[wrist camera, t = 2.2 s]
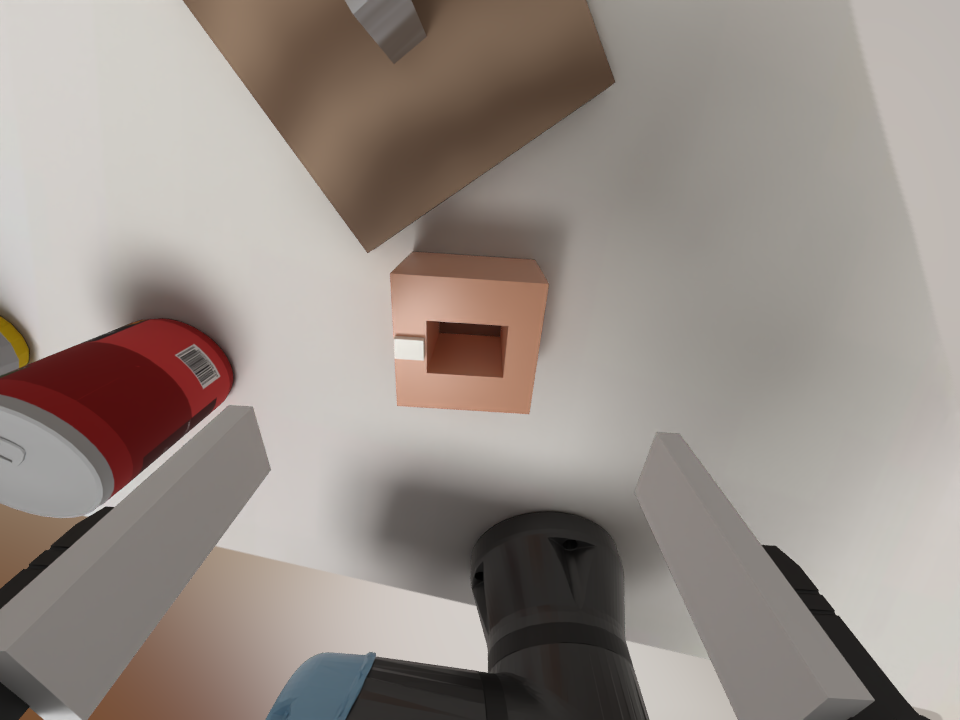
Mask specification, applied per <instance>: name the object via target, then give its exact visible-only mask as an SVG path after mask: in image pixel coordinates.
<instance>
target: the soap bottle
mask: <svg viewBox="0 0 960 720" xmlns="http://www.w3.org/2000/svg"><path fill="white" fill-rule="evenodd" d="M28 362H29V349H28V347H27V344H26V342H25V340H24V338H23V336H22V335H21V334H20V333H19V332H18V331H17V330H16V329H15V328H14V326H13V325H12V324H11V323H9V322H8V321H6V320H5V319H4V318H2V317H1V316H0V376H1V375H3V374H6V373H8V372H11V371H13V370H16V369H18V368H21V367H23V366H25V365H26V364H27V363H28Z"/></svg>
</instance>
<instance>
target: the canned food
mask: <svg viewBox="0 0 960 720" xmlns="http://www.w3.org/2000/svg"><path fill="white" fill-rule="evenodd" d="M232 384H233V372H232V368H231V365H230V363H229V361H228V359H227V357H226V355H225V354H224V352H223V351H222V350H221V348H220V347H219V346H218V345H217V344H216V343H215V342H214V341H213V340H212V339H211V338H209V337H208V336H207V335H206V334H204V333H203V332H201V331H199V330H198V329H196V328H194V327H192V326H190V325H188V324H185V323H183V322H179V321H176V320H171V319H163V318H162V319H148V320H140V321H137V322H133V323H131V324H128V325H126V326H123V327H121V328H118V329H116V330H113V331H111V332H108V333H106V334H103V335H101V336H98V337H96V338H93V339H91V340H88V341H86V342H83V343H81V344H78V345H76V346H73V347H71V348H68V349H66V350H63V351H61V352H58V353H56V354H53V355H51V356H48V357H46V358H43V359H41V360H38V361H36V362H33V363H31V364H28V365H26V366H23V367H21V368H18V369H16V370H13V371H11V372H8V373H6V374H3V375H1V376H0V503H1V504H4V505H7V506H9V507H11V508H14V509H17V510H21V511H24V512H27V513H31V514H36V515H41V516H46V517H56V518H71V517H78V516H82V515H85V514H88V513H90V512H92V511H93V510H95V509H96V508H97V507H98V506H100V505H102V504H104V503H105V502H106V501H107V500H108V499H110V498H111V497H112V496H113V495H114V494H116V493H117V492H118V491H119V490H121V489H122V488H123V487H124V486H126V485H127V484H128V483H129V482H130V481H131V480H133V479H134V478H135V477H136V476H137V475H138V474H140V473H141V472H142V471H143V470H144V469H146V468H147V467H148V466H149V465H150V464H151V463H153V462H154V461H155V460H156V459H157V458H158V457H160V456H161V455H162V454H163V453H164V452H165V451H167V450H168V449H169V448H170V447H171V446H172V445H174V444H175V443H176V442H177V441H178V440H179V439H181V438H182V437H183V436H184V435H185V434H186V433H188V432H189V431H190V430H191V429H192V428H193V427H195V426H196V425H197V424H198V423H199V422H200V421H202V420H203V419H204V418H205V417H206V416H208V415H209V414H210V413H211V412H212V411H213V410H215V409H216V408H217V407H218V406H219V405H220V404H221V403H222V402H224V401H225V399H226V397H227V395H228V394H229V392H230V390H231V388H232Z"/></svg>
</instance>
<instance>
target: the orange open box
mask: <svg viewBox="0 0 960 720" xmlns="http://www.w3.org/2000/svg"><path fill="white" fill-rule="evenodd" d="M390 282H391V301H392V319H393V338H394V358H395V375H396V394H397V406H408V407H424V408H440V409H456V410H472V411H488V412H504V413H520V414H529V412H530V405H531V399H532V392H533V385H534V379H535V372H536V366H537V359H538V353H539V346H540V339H541V333H542V326H543V320H544V313H545V307H546V300H547V293H548V287H549V283H548V282H547V280H546V278H545V276H544V275H543V273H542V271H541V269H540V268H539V266H538V264H537V263H536V261H535V260H531V259H516V258H502V257H487V256H472V255H457V254H442V253H427V252H412V253H411V254H410V255H409V256H408V257H406V258H405V259H404V260H403V261H402V262H401V263H400V264H399V265H398V266H397V267H396V268H395V269H394V270H393V271H392V272H391V273H390ZM439 322H454V323H469V324H485V325H500V326H501V331H500V337H499V336H483V335H468V334H452V333H439Z"/></svg>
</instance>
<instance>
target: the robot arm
mask: <svg viewBox="0 0 960 720" xmlns="http://www.w3.org/2000/svg"><path fill="white" fill-rule="evenodd" d="M270 470H271V468H270V465H269V461H268V458H267V454H266V451H265V447H264V444H263V440H262V437H261V433H260V430H259V427H258V423H257V420H256V416H255V413H254V409H253V407H249V406H233V405H229V406H228V407H226V408H225V409H224V410H223V411H222V412H221V413H220V414H219V415H217V416H216V417H215V418H214V419H213V420H212V421H211V422H210V423H209V424H207V425H206V426H205V427H204V428H203V429H202V430H201V431H200V432H198V433H197V434H196V435H195V436H194V437H193V438H192V439H191V440H189V441H188V442H187V443H186V444H185V445H184V446H183V447H182V448H181V449H179V450H178V451H177V452H176V453H175V454H174V455H173V456H172V457H170V458H169V459H168V460H167V461H166V462H165V463H164V464H163V465H161V466H160V467H159V468H158V469H157V470H156V471H155V472H154V473H153V474H151V475H150V476H149V477H148V478H147V479H146V480H145V481H144V482H142V483H141V484H140V485H139V486H138V487H137V488H136V489H135V490H133V491H132V492H131V493H130V494H129V495H128V496H127V497H126V498H125V499H123V500H122V501H121V502H120V503H119V504H118V505H117V506H116V507H104V508H103V509H101V510H99V511H98V512H96V513H94V514H93V515H91V516H89V517H87V518H86V519H84V520H82V521H81V522H79V523H77V524H76V525H75V526H73V527H72V528H71V529H70V530H69V531H68V532H66V533H65V534H64V535H63V536H62V537H61V538H59V539H58V540H57V541H56V542H55V543H54V544H52V545H51V548H50V549H49V550H46V551H44V552H43V553H42V554H41V555H39V556H38V557H37V558H36V559H35V560H33V561H32V562H31V563H30V564H29V567H28V568H27V569H23V570H22V571H21V572H19V573H18V574H17V575H16V576H15V577H14V578H12V579H11V580H10V581H9V582H8V583H6V584H5V585H4V586H3V587H2V588H1V589H0V720H19V719H20V717H21V716H22V715H23V714H24V713H25V712H26V710H27V709H28V708H31V709H32V710H33V711H34V712H36V713H37V714H38V715H39V716H41V717H42V718H43V719H44V720H87V719H88V718H89V717H90V715H91V714H92V713H93V711H94V710H95V708H96V707H97V706H98V704H99V703H100V702H101V700H102V699H103V697H104V696H105V695H106V693H107V692H108V691H109V689H110V688H111V687H112V685H113V684H114V683H115V681H116V680H117V678H118V677H119V676H120V674H121V673H122V672H123V670H124V669H125V668H126V666H127V665H128V664H129V662H130V661H131V660H132V658H133V657H134V655H135V654H136V653H137V651H138V650H139V649H140V647H141V646H142V645H143V643H144V642H145V640H146V639H147V638H148V636H149V635H150V634H151V632H152V631H153V630H154V628H155V627H156V626H157V624H158V623H159V621H160V620H161V619H162V617H163V616H164V615H165V613H166V612H167V610H168V609H169V608H170V606H171V605H172V604H173V602H174V601H175V600H176V598H177V597H178V596H179V594H180V593H181V591H182V590H183V589H184V587H185V586H186V585H187V583H188V582H189V581H190V579H191V578H192V576H193V575H194V574H195V572H196V571H197V570H198V568H199V567H200V566H201V564H202V563H203V561H204V560H205V559H206V557H207V556H208V555H209V553H210V552H211V551H212V549H213V548H214V547H215V545H216V544H217V543H218V541H219V540H220V538H221V537H222V536H223V534H224V533H225V532H226V530H227V529H228V528H229V526H230V525H231V523H232V522H233V521H234V519H235V518H236V517H237V515H238V514H239V513H240V511H241V510H242V509H243V507H244V506H245V504H246V503H247V502H248V500H249V499H250V498H251V496H252V495H253V494H254V492H255V491H256V489H257V488H258V487H259V485H260V484H261V483H262V481H263V480H264V479H265V477H266V476H267V474H268V473H269V472H270ZM634 493H635V495H636V497H637V499H638V502H639V504H640V506H641V508H642V510H643V513H644V515H645V517H646V519H647V521H648V524H649V526H650V528H651V530H652V532H653V535H654V537H655V539H656V541H657V543H658V546H659V548H660V550H661V552H662V554H663V557H664V559H665V561H666V563H667V565H668V568H669V570H670V572H671V574H672V576H673V579H674V581H675V583H676V585H677V587H678V589H679V592H680V594H681V596H682V598H683V600H684V603H685V605H686V607H687V609H688V611H689V614H690V616H691V618H692V620H693V622H694V625H695V627H696V629H697V631H698V633H699V636H700V638H701V640H702V642H703V644H704V647H705V649H706V651H707V653H708V655H709V658H710V660H711V662H712V664H713V666H714V668H715V671H716V673H717V675H718V677H719V679H720V682H721V684H722V686H723V688H724V690H725V693H726V695H727V697H728V699H729V701H730V704H731V706H732V708H733V710H734V712H735V715H736V717H737V719H738V720H930V719H928V718H926V717H924V716H921V715H919V714H918V713H917V712H916V711H915V710H914V709H913V708H912V707H911V706H910V704H909V703H908V702H907V701H906V700H905V699H904V698H903V696H902V695H901V694H900V693H899V691H898V690H897V689H896V687H895V686H894V685H893V684H892V682H891V681H890V680H889V679H888V677H887V676H886V675H885V674H884V672H883V671H882V670H881V669H880V667H879V666H878V665H877V663H876V662H875V661H874V660H873V658H872V657H871V656H870V655H869V653H868V652H867V651H866V650H865V648H864V647H863V646H862V644H861V643H860V642H859V641H858V639H857V638H856V637H855V636H854V634H853V633H852V632H851V631H850V629H849V628H848V627H847V626H846V624H845V623H844V622H843V620H842V619H841V618H840V617H839V616H837V615H835V612H834V611H835V610H834V609H833V608H832V607H831V605H830V604H829V603H828V601H827V600H826V599H825V598H824V596H823V595H820V594H819V592H818V591H819V590H818V589H817V588H816V586H815V585H814V584H813V583H812V581H811V580H810V579H809V577H808V576H807V575H806V574H805V572H804V571H803V570H802V569H801V567H800V566H799V565H797V564H796V563H795V562H794V561H793V560H792V559H790V558H789V557H788V556H787V555H786V554H785V553H783V552H782V551H781V550H780V549H779V548H778V547H776V546H768V545H761V544H760V543H759V541H758V540H757V539H756V537H755V536H754V534H753V533H752V532H751V530H750V529H749V528H748V526H747V525H746V523H745V522H744V521H743V519H742V518H741V517H740V515H739V514H738V513H737V511H736V510H735V508H734V507H733V506H732V504H731V503H730V502H729V500H728V499H727V498H726V496H725V495H724V493H723V492H722V491H721V489H720V488H719V487H718V485H717V484H716V483H715V481H714V480H713V478H712V477H711V476H710V474H709V473H708V472H707V470H706V469H705V468H704V466H703V465H702V463H701V462H700V461H699V459H698V458H697V457H696V455H695V454H694V453H693V451H692V450H691V448H690V447H689V446H688V444H687V443H686V442H685V440H684V439H683V438H682V436H681V435H680V434H677V433H661V432H656V435H655V437H654V440H653V443H652V445H651V448H650V451H649V454H648V456H647V459H646V462H645V464H644V467H643V470H642V472H641V475H640V478H639V481H638V483H637V486H636V489H635V491H634ZM470 579H471V588H472V591H473V595H474V599H475V602H476V606H477V610H478V613H479V617H480V621H481V624H482V628H483V632H484V636H485V639H486V643H487V647H488V673H486V672H479V671H474V670H467V669H459V668H452V667H445V666H438V665H431V664H423V663H417V662H410V661H403V660H396V659H389V658H382V657H376V653H373V652H369V653H368V654H367V655H356V654H342V653H321V654H317V655H315V656H313V657H311V658H309V659H308V660H307V661H305V662H304V663H303V664H302V665H301V666H300V667H299V668H298V669H297V670H296V671H295V673H294V674H293V675H292V677H291V678H290V679H289V681H288V682H287V684H286V685H285V687H284V688H283V690H282V692H281V693H280V695H279V696H278V698H277V700H276V702H275V704H274V705H273V707H272V709H271V710H270V712H269V714H268V716H267V718H266V720H649V717H648V714H647V710H646V707H645V704H644V701H643V697H642V694H641V691H640V687H639V684H638V681H637V677H636V674H635V671H634V669H633V665H632V661H631V658H630V655H629V651H628V647H627V644H626V640H625V605H624V572H623V566H622V563H621V560H620V557H619V554H618V551H617V548H616V546H615V543H614V541H613V539H612V538H611V537H610V535H609V534H608V533H607V532H606V531H605V530H604V529H602V528H601V527H600V526H598V525H597V524H595V523H593V522H591V521H589V520H587V519H585V518H582V517H579V516H575V515H571V514H566V513H557V512H539V513H530V514H525V515H520V516H517V517H513V518H510V519H508V520H505V521H503V522H501V523H499V524H497V525H496V526H494V527H492V528H491V529H489V530H488V531H487V532H486V533H485V534H484V535H483V536H482V537H481V538H480V539H479V540H478V542H477V543H476V545H475V547H474V549H473V552H472V556H471V575H470Z"/></svg>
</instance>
